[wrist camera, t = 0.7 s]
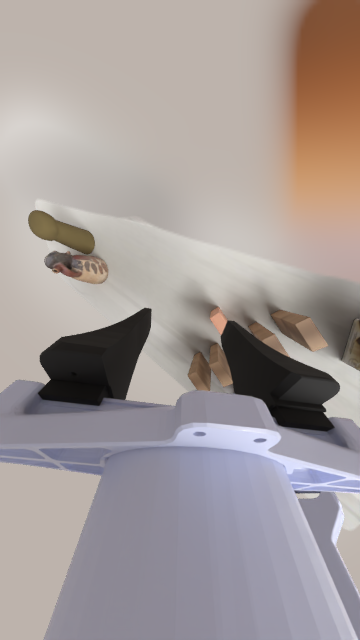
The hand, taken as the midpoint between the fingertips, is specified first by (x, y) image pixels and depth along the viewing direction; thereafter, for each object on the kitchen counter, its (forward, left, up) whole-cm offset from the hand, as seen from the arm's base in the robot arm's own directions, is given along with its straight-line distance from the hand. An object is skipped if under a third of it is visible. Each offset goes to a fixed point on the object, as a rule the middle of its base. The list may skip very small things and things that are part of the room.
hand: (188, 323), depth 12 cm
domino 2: (-5, -2, -20) cm, 20 cm away
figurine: (+25, +19, -20) cm, 37 cm away
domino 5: (-12, -12, -20) cm, 26 cm away
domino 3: (-12, +3, -20) cm, 24 cm away
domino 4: (-12, -7, -20) cm, 24 cm away
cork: (+33, +17, -20) cm, 42 cm away
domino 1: (-12, +8, -20) cm, 25 cm away
